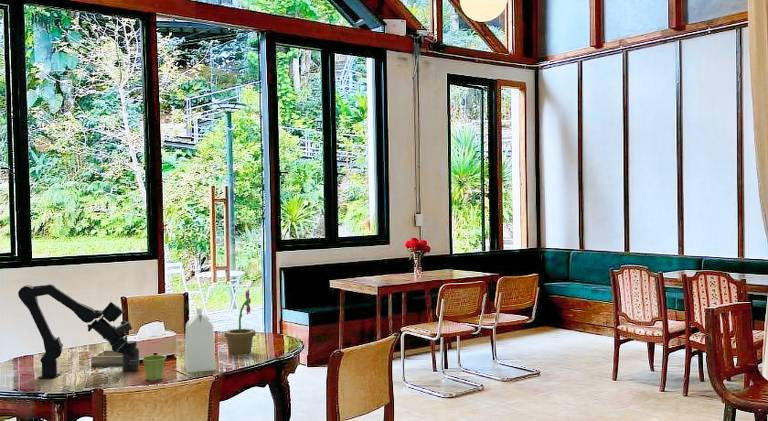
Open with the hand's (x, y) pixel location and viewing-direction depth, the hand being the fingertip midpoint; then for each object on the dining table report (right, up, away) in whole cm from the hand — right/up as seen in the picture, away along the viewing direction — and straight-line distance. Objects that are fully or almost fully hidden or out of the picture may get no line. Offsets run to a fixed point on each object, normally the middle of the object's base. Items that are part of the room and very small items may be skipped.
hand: (134, 354), depth 309 cm
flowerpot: (+39, -6, +32) cm, 51 cm away
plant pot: (+14, -7, -17) cm, 23 cm away
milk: (+28, -7, +1) cm, 29 cm away
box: (-15, -7, +15) cm, 22 cm away
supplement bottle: (-1, -7, 0) cm, 7 cm away
